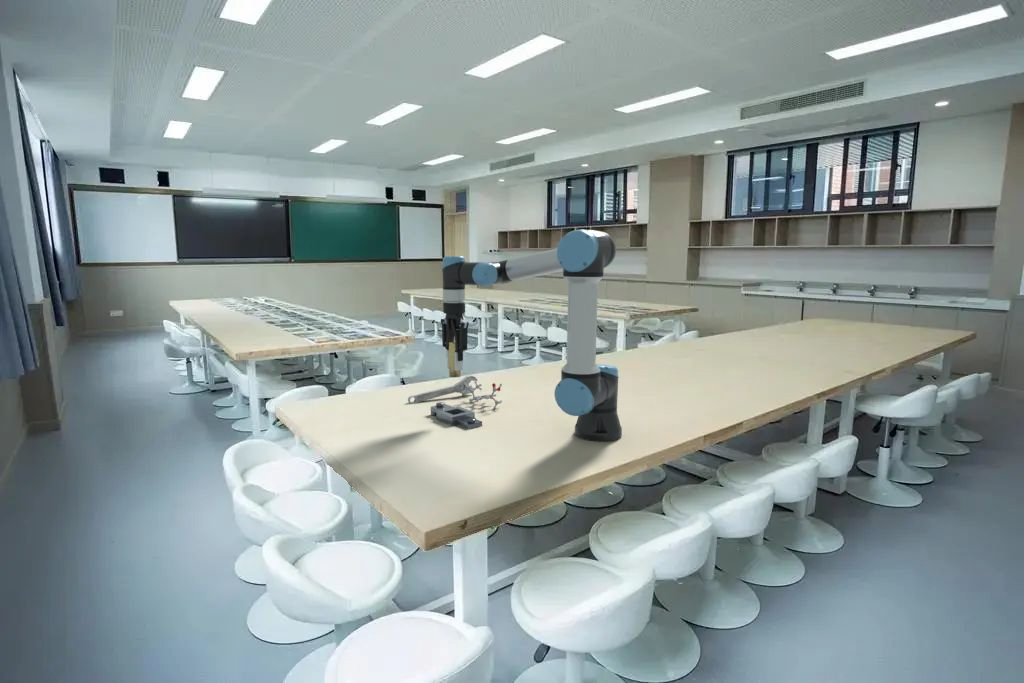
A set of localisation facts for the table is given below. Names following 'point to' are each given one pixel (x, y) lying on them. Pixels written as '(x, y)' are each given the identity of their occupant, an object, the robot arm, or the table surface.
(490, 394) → the molecular model
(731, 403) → the table surface
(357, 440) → the table surface
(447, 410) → the link plate
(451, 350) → the pin
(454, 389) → the wrench
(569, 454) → the table surface
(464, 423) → the link plate
